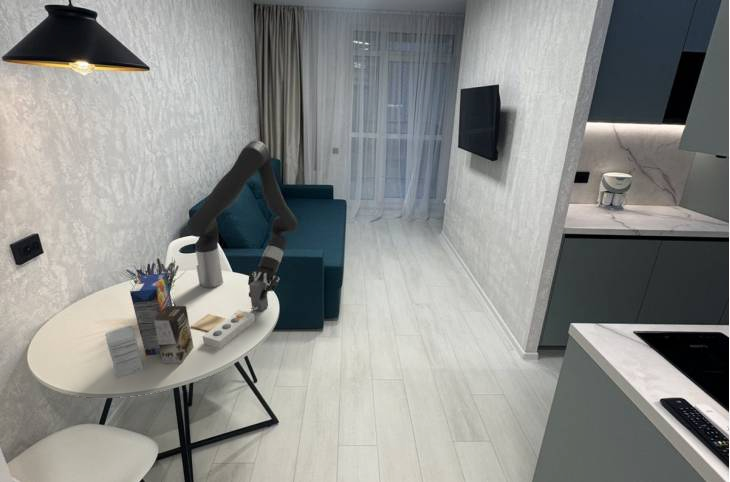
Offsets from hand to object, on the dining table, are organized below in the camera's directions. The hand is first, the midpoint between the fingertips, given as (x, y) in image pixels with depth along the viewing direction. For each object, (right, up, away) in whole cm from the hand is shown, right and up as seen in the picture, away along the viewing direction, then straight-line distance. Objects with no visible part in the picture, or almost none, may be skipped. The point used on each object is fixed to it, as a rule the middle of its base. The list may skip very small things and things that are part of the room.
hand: (256, 298), depth 151 cm
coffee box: (-19, -15, -24) cm, 34 cm away
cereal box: (-27, -13, -18) cm, 35 cm away
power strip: (-6, -10, -12) cm, 17 cm away
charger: (+1, -4, +3) cm, 6 cm away
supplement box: (-32, -18, -30) cm, 47 cm away
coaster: (-16, -8, -6) cm, 19 cm away
